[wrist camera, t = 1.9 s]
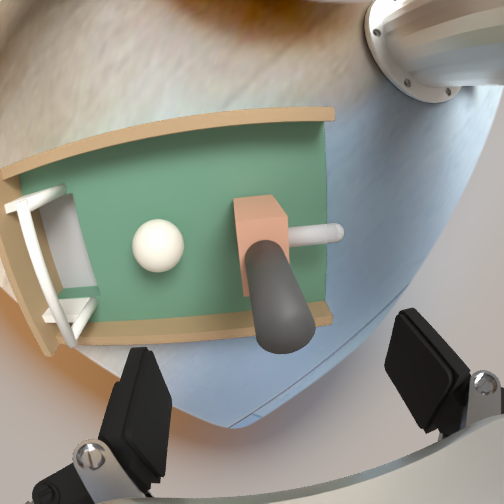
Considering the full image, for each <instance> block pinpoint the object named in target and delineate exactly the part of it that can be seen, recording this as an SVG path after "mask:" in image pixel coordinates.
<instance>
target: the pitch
mask: <svg viewBox="0 0 504 504" xmlns="http://www.w3.org/2000/svg"><path fill="white" fill-rule="evenodd" d="M324 121H335V114H334V107H277V108H259V109H245V110H234V111H224V112H215V113H207V114H199V115H192V116H185V117H179V118H173V119H167V120H162V121H156V122H151V123H146V124H142V125H137V126H132V127H128V128H124V129H119V130H115V131H111V132H107V133H103V134H100V135H96V136H92V137H89V138H85V139H82V140H79V141H75V142H72V143H69V144H66V145H63V146H60V147H57V148H54V149H51V150H48V151H45V152H42V153H40V154H37V155H34V156H32V157H29V158H26V159H24V160H21V161H19V162H16V163H14V164H12V165H9V166H7V167H5V168H2V169H0V257H1V260H2V263H3V266H4V269H5V271H6V274H7V277H8V279H9V282H10V284H11V287H12V289H13V292H14V294H15V297H16V299H17V301H18V304H19V306H20V308H21V310H22V312H23V314H24V317H25V319H26V321H27V323H28V325H29V327H30V329H31V331H32V333H33V335H34V336H35V338H36V340H37V342H38V344H39V346H40V348H41V349H42V351H43V353H44V355H45V356H49V357H52V356H53V354H54V353H55V351H56V349H57V348H58V346H59V345H60V344H65V345H67V346H68V347H69V348H73V347H75V346H76V345H137V344H162V343H180V342H194V341H207V340H218V339H229V338H238V337H248V336H256V334H255V327H254V321H253V314H252V307H251V300H250V296H246V297H244V294H243V285H242V277H241V268H240V259H239V250H238V241H237V232H236V223H235V213H234V203H233V198H240V197H250V196H260V195H270V194H272V195H273V196H274V198H275V199H276V200H277V202H278V203H279V205H280V206H281V207H282V209H283V210H284V212H285V213H286V215H287V216H288V227H298V226H309V225H319V224H327V184H326V154H325V134H324ZM154 219H162V220H166V221H169V222H171V223H172V224H174V225H175V226H176V227H177V228H178V229H179V231H180V232H181V234H182V236H183V240H184V251H183V255H182V257H181V259H180V261H179V262H178V263H177V265H176V266H174V267H173V268H172V269H170V270H168V271H165V272H151V271H148V270H146V269H145V268H143V267H142V266H141V265H140V264H139V263H138V262H137V261H136V259H135V257H134V254H133V250H132V242H133V237H134V235H135V233H136V231H137V230H138V228H139V227H140V226H141V225H143V224H144V223H146V222H147V221H150V220H154ZM326 256H327V243H326V244H317V245H308V246H299V247H290V248H289V263H290V267H291V269H292V271H293V273H294V276H295V278H296V280H297V282H298V285H299V287H300V289H301V291H302V294H303V296H304V298H305V300H306V303H307V305H308V307H309V309H310V312H311V314H312V316H313V318H314V321H315V327H319V326H325V325H331V324H332V321H333V315H332V313H331V311H330V309H329V307H328V305H327V303H326V302H325V286H326Z"/></svg>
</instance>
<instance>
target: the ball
mask: <svg viewBox="0 0 504 504" xmlns="http://www.w3.org/2000/svg"><path fill="white" fill-rule="evenodd" d="M132 250H133V254H134V257H135V259H136V261H137V262H138V263H139V264H140V265H141V266H142V267H143V268H145V269H146V270H148V271H151V272H165V271H168V270H170V269H172V268H173V267H174V266H176V265H177V263H178V262H179V261H180V259H181V257H182V255H183V251H184V240H183V236H182V234H181V232H180V231H179V229H178V228H177V227H176V226H175V225H174V224H172V223H171V222H169V221H166V220H162V219H154V220H150V221H147V222H146V223H144V224H143V225H141V226H140V227H139V228H138V230H137V231H136V233H135V235H134V237H133V242H132Z"/></svg>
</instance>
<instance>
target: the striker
mask: <svg viewBox="0 0 504 504" xmlns="http://www.w3.org/2000/svg"><path fill="white" fill-rule="evenodd" d="M233 203H234V213H235V223H236V232H237V241H238V250H239V259H240V268H241V277H242V285H243V294H244V297H246V296H250V300H251V307H252V314H253V321H254V327H255V334H256V339H257V342H258V344H259V345H260V346H261V347H262V348H263V349H264V350H266V351H268V352H271V353H275V354H288V353H292V352H295V351H297V350H299V349H301V348H303V347H304V346H305V345H307V344H308V343H309V342H310V340H311V339H312V337H313V335H314V333H315V328H316V327H315V321H314V318H313V316H312V314H311V312H310V309H309V307H308V305H307V303H306V300H305V298H304V296H303V294H302V291H301V289H300V287H299V285H298V282H297V280H296V278H295V276H294V273H293V271H292V269H291V267H290V263H289V248H290V247H299V246H308V245H317V244H326V243H335V242H339V241H340V240H342V238H343V236H344V229H343V227H342V226H341V225H340V224H337V223H330V224H319V225H309V226H298V227H288V216H287V215H286V213H285V212H284V210H283V209H282V207H281V206H280V205H279V203H278V202H277V200H276V199H275V198H274V196H273V195H272V194H270V195H260V196H250V197H240V198H233Z"/></svg>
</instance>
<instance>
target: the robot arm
mask: <svg viewBox="0 0 504 504" xmlns="http://www.w3.org/2000/svg"><path fill="white" fill-rule="evenodd" d="M364 27H365V35H366V39H367V43H368V46H369V49H370V51H371V53H372V55H373V58H374V60H375V61H376V63H377V64H378V66H379V68H380V69H381V71H382V72H383V73H384V74H385V76H386V77H387V78H388V79H389V80H390V81H391V82H392V83H393V84H394V85H395V86H396V87H397V88H398V89H399V90H401V91H402V92H404V93H405V94H406V95H408V96H410V97H412V98H414V99H416V100H419V101H423V102H428V103H438V102H444V101H447V100H450V99H451V98H453V97H454V96H455V95H456V94H457V93H458V92H459V90H460V89H461V86H480V85H504V0H374V1H373V2H372V3H371V5H370V6H369V8H368V10H367V13H366V16H365V25H364ZM384 366H385V370H386V372H387V374H388V376H389V377H390V379H391V380H392V382H393V384H394V385H395V387H396V389H397V390H398V392H399V394H400V395H401V397H402V399H403V400H404V402H405V404H406V406H407V407H408V409H409V410H410V412H411V414H412V416H413V417H414V419H415V421H416V423H417V424H418V426H419V427H420V428H421V429H424V431H425V433H426V434H427V433H429V432H431V431H433V430H436V429H437V428H438V430H439V432H440V434H439V438H438V442H436V443H434V444H432V445H430V446H427V447H425V448H423V449H421V450H419V451H416V452H414V453H412V454H410V455H407V456H405V457H402V458H400V459H398V460H395V461H392V462H390V463H387V464H384V465H382V466H379V467H376V468H373V469H370V470H367V471H364V472H361V473H358V474H354V475H351V476H348V477H344V478H340V479H337V480H333V481H330V482H325V483H321V484H317V485H312V486H307V487H302V488H297V489H292V490H287V491H280V492H273V493H267V494H258V495H249V496H237V497H221V498H220V497H219V498H155V497H154V496H153V495H152V494H151V492H150V491H149V489H150V488H151V483H160V479H161V477H164V476H165V470H166V458H167V447H168V437H169V427H170V418H171V409H172V399H171V395H170V393H169V391H168V388H167V386H166V384H165V381H164V379H163V376H162V374H161V371H160V369H159V366H158V364H157V361H156V359H155V356H154V353H153V352H152V351H148V349H147V347H136V348H131V349H130V352H129V355H128V358H127V361H126V364H125V367H124V370H123V373H122V376H121V379H120V382H116V383H115V384H114V387H113V390H112V393H111V396H110V399H109V402H108V405H107V409H106V412H105V416H104V419H103V422H102V426H101V429H100V433H99V436H98V440H96V439H89V440H85V441H83V442H81V443H80V444H78V446H77V447H76V448H75V449H74V452H73V458H72V460H73V463H72V464H70V465H68V466H66V467H65V468H63V469H61V470H59V471H58V472H56V473H54V474H52V475H51V476H49V477H47V478H45V479H43V480H42V481H40V482H39V483H37V484H36V485H35V487H34V489H33V492H32V499H33V501H32V502H31V503H30V502H29V501H27V502H26V503H25V504H504V388H502V387H501V385H500V381H499V379H498V378H497V377H496V376H495V375H494V374H493V373H491V372H489V371H486V370H480V371H477V372H475V373H474V374H473V375H472V376H471V375H470V373H469V372H470V369H469V368H468V367H467V366H466V364H465V363H464V362H463V361H462V360H461V359H460V358H459V356H458V355H457V354H456V353H455V352H454V351H453V349H452V348H451V347H450V346H449V345H448V344H447V343H446V342H445V340H444V339H443V338H442V337H441V336H440V335H439V334H438V333H437V332H436V331H435V329H434V328H433V327H432V326H431V325H430V324H429V323H428V322H427V321H426V320H425V319H424V318H423V317H422V316H421V315H420V313H419V312H417V310H416V309H414V308H409V309H405V310H401V311H400V312H399V314H398V315H397V316H396V318H395V322H394V327H393V331H392V336H391V340H390V344H389V348H388V352H387V356H386V359H385V364H384Z"/></svg>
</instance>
